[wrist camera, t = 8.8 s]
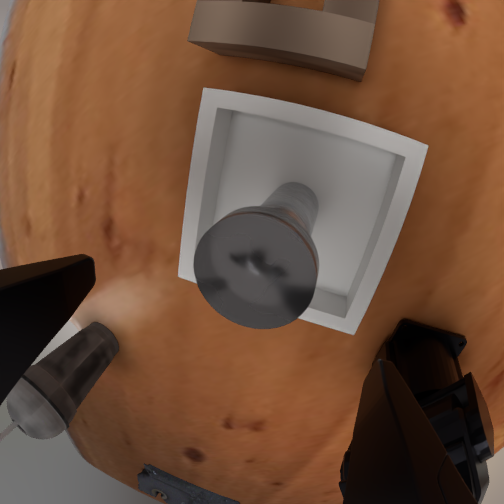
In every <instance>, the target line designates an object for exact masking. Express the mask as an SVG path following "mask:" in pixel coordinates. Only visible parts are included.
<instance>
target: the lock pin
mask: <svg viewBox="0 0 504 504" xmlns="http://www.w3.org/2000/svg"><path fill="white" fill-rule="evenodd" d="M318 210H319V203H318V199H317V197H316V195H315V193H314V192H313V191H312V190H311V189H310V188H309V187H308V186H306V185H304V184H302V183H298V182H288V183H285V184H283V185H281V186H279V187H278V188H277V189H276V190H275V191H274V192H273V193H272V194H271V195H270V196H269V197H268V198H267V199H266V200H265V201H264V202H263V203H262V204H261V205H260V206H248V207H243V208H240V209H237V210H234V211H232V212H230V213H228V214H227V215H226V216H224V217H223V218H222V219H220V220H219V221H218V222H217V223H216V224H214V225H213V226H212V227H211V228H210V229H209V230H208V231H207V232H206V233H205V234H204V235H203V236H202V238H201V239H200V241H199V243H198V245H197V248H196V251H195V255H194V274H195V279H196V282H197V284H198V287H199V289H200V291H201V293H202V294H203V296H204V298H205V299H206V300H207V302H208V303H209V304H210V305H211V306H212V307H213V308H214V309H215V310H216V311H217V312H218V313H220V314H221V315H222V316H224V317H225V318H227V319H229V320H230V321H232V322H234V323H237V324H239V325H242V326H246V327H250V328H255V329H271V328H277V327H281V326H284V325H286V324H289V323H291V322H292V321H294V320H296V319H297V318H298V317H299V316H301V315H302V314H303V313H304V311H305V310H306V309H307V308H308V306H309V305H310V303H311V301H312V298H313V295H314V292H315V288H316V283H317V278H318V273H319V257H318V252H317V249H316V246H315V244H314V242H313V239H312V238H311V234H312V231H313V228H314V225H315V221H316V218H317V215H318Z"/></svg>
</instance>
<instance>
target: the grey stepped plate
mask: <svg viewBox="0 0 504 504" xmlns="http://www.w3.org/2000/svg"><path fill="white" fill-rule="evenodd" d="M144 466H145V469H144V470H143V471H142V472H141V473H139V474H138V475H137V476H138V481H139V484H138V486H139V487H138V488H139V490H141V491H144V492H145V493H147V494H150V495H151V496H154V497H156V496H157V494H158V493H161V497H162V499H164V501H165V502H166V503H168V504H239V502H238V501H235V500H232V499H230V498H227V497H224V496H221V495H218V494H216V493H213V492H211V491H208V490H206V489H203V488H201V487H198V486H196V485H194V484H191V483H188V482H187V481H184V480H182V479H180V478H177V477H175V476H173V475H171V474H168V473H166V472H164V471H162V470H160V469H158V468H156V467H154V466H152V465H146V464H144Z"/></svg>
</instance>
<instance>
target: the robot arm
mask: <svg viewBox="0 0 504 504" xmlns="http://www.w3.org/2000/svg"><path fill="white" fill-rule="evenodd" d="M95 281H96V276H95V263H94V260H93V258H92V257H90V256H87V255H85V254H79V255H74V256H68V257H63V258H58V259H52V260H47V261H42V262H37V263H31V264H26V265H21V266H16V267H11V268H6V269H1V270H0V405H1V403H2V402H3V401H4V400H5V398H6V397H7V396H8V394H9V393H10V392H11V390H12V389H13V388H14V386H15V385H16V384H17V382H18V381H19V380H20V378H21V377H22V376H23V375H24V373H25V372H26V371H27V369H28V368H29V367H30V366H31V364H32V363H33V362H34V361H35V359H36V358H37V357H38V356H39V354H40V353H41V352H42V351H43V349H44V348H45V347H46V346H47V345H48V343H49V342H50V341H51V340H52V339H53V337H54V336H55V335H56V334H57V333H58V332H59V331H60V329H61V328H62V327H63V326H64V325H65V324H66V322H67V321H68V320H69V319H70V318H71V316H72V315H73V314H74V312H75V311H76V309H77V308H78V307H79V305H80V304H81V303H82V301H83V300H84V299H85V297H86V296H87V294H88V293H89V292H90V290H91V289H92V288H93V286H94V284H95ZM404 325H407V327H405V328H404V327H403V326H404ZM460 342H462V343H460ZM466 344H467V341H466V338H465V337H464V336H461V335H458V334H454V333H451V332H447V331H444V330H441V329H437V328H434V327H430V326H427V325H424V324H420V323H417V322H414V321H410V320H406V319H404V320H402V321H400V322H399V324H398V325H397V327H396V329H395V331H394V332H393V334H392V336H391V338H390V339H389V341H386V342H385V343H384V345H383V346H382V348H381V350H380V351H379V353H378V355H377V356H376V358H375V360H374V361H373V363H372V369H371V370H370V372H369V374H368V375H367V377H366V378H365V380H364V383H363V388H362V393H361V398H360V403H359V408H358V413H357V417H356V422H355V426H354V432H353V439H352V441H351V444H350V446H349V448H348V450H347V451H346V452H345V454H344V458H343V462H342V465H341V469H340V473H341V481H340V482H339V487H340V490H341V492H342V495H343V499H344V500H343V504H481V502H482V500H483V498H484V495H485V493H486V490H487V488H488V485H489V475H488V469H487V463H486V460H487V459H489V458H491V457H493V456H494V432H493V426H492V422H491V418H490V415H489V411H488V408H487V405H486V402H485V400H484V398H483V396H482V393H481V391H480V389H479V387H478V385H477V383H476V381H475V379H474V377H473V375H472V373H471V372H469V373H468V374H466V375H464V377H463V375H462V372H461V368H460V365H459V361H458V358H457V357H458V356H459V354H460V353H461V351H462V350H463V349H464V347H465V346H466Z"/></svg>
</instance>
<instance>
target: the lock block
mask: <svg viewBox="0 0 504 504" xmlns="http://www.w3.org/2000/svg"><path fill="white" fill-rule="evenodd" d="M269 3H270V0H197V3H196V7H195V11H194V15H193V19H192V23H191V27H190V32H189V36H188V40H187V41H189V42H191V43H194V44H196V45H198V46H201V47H203V48H205V49H208V50H210V51H212V52H215V53H217V54H219V55H227V56H236V57H245V58H252V59H259V60H266V61H272V62H278V63H284V64H289V65H294V66H299V67H304V68H309V69H313V70H318V71H322V72H326V73H330V74H334V75H338V76H342V77H346V78H349V79H353V80H356V81H360V82H361V81H362V78H363V76H364V73H365V71H366V67H367V63H368V58H369V53H370V48H371V43H372V38H373V33H374V28H375V22H376V17H377V11H378V5H379V0H325V2H324V7H323V11H318V10H312V9H306V8H300V7H293V6H286V5H278V4H269Z"/></svg>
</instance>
